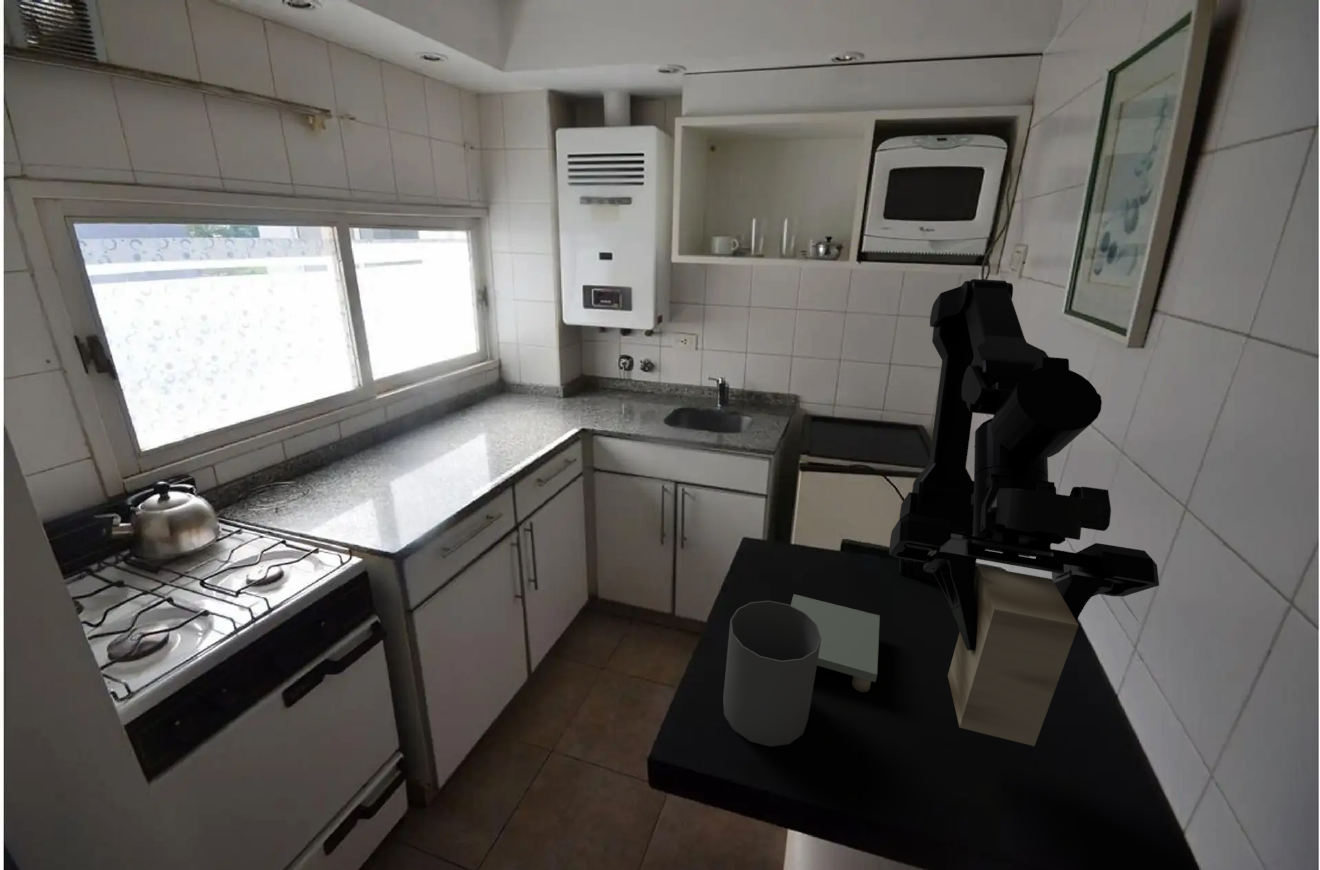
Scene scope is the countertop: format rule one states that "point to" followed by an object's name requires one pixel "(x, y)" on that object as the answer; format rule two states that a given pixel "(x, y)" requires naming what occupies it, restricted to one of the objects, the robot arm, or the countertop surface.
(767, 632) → the cup
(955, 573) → the robot arm
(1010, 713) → the beech block
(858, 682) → the peg shelf
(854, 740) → the countertop surface
